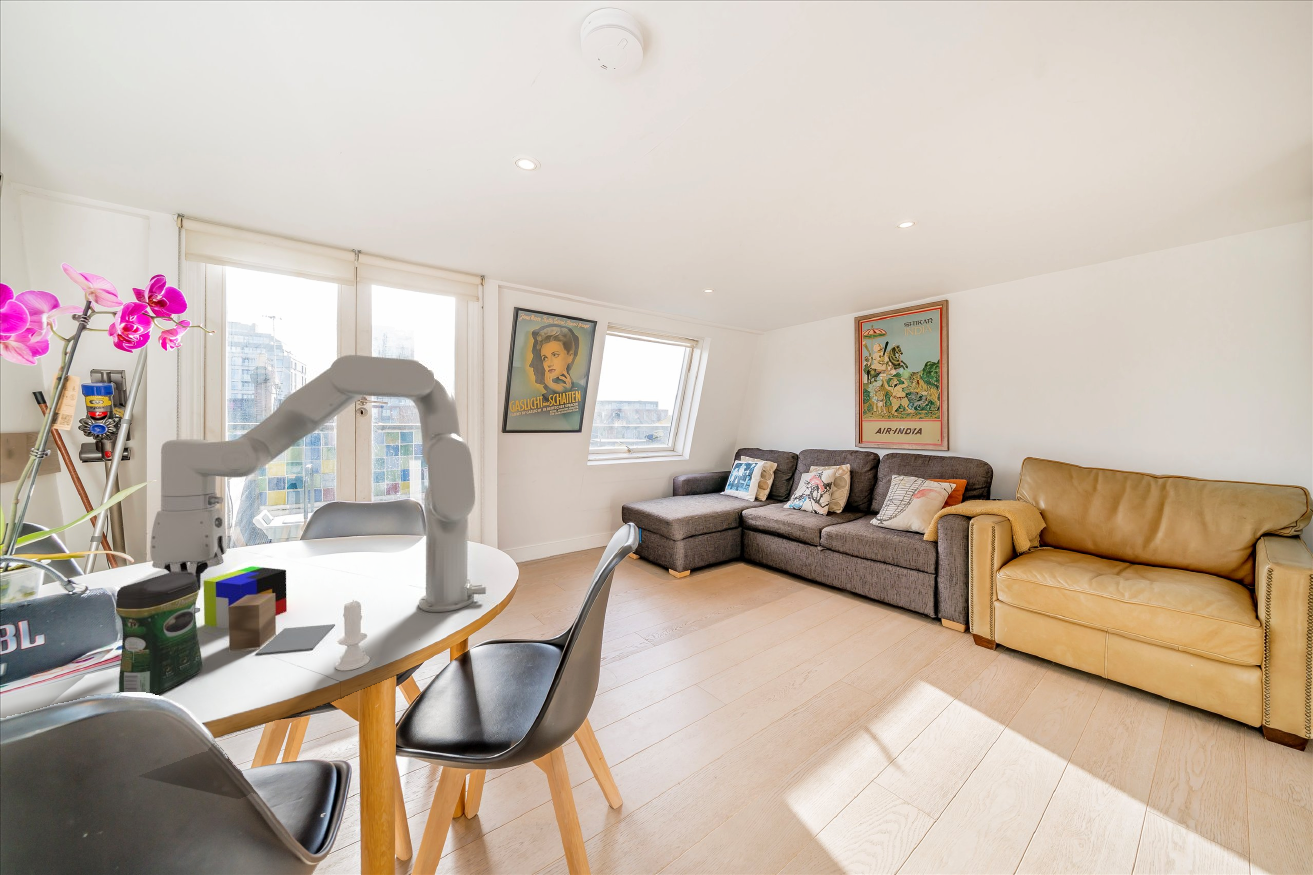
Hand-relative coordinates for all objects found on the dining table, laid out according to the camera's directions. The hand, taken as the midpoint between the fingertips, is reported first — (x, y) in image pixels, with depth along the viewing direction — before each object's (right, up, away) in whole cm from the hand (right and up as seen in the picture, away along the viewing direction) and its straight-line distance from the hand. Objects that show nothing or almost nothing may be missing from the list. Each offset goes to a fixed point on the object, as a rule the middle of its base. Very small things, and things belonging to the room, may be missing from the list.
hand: (188, 596), depth 91 cm
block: (+10, -11, +3) cm, 15 cm away
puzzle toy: (-1, -10, +15) cm, 18 cm away
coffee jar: (+7, -11, -11) cm, 17 cm away
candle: (+35, -12, -4) cm, 37 cm away
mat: (+17, -11, +5) cm, 21 cm away
